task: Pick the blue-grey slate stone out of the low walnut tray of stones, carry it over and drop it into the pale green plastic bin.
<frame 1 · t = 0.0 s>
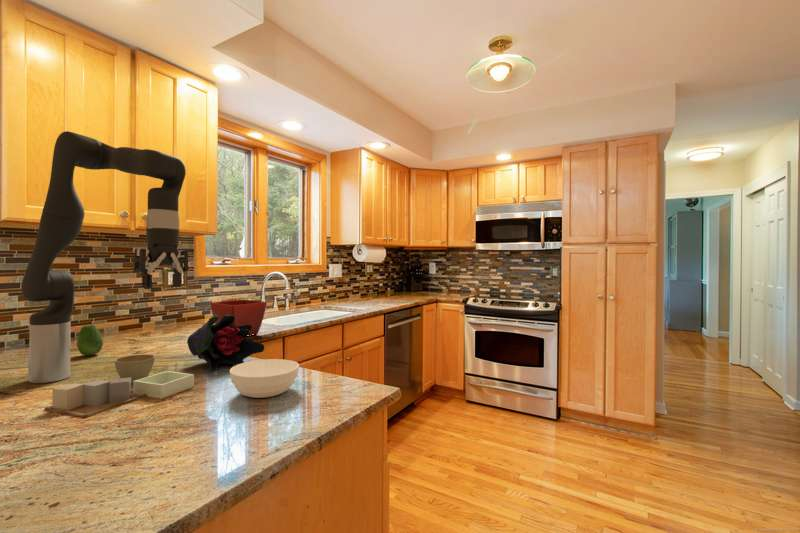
hand: (162, 288, 101), 29 cm above the countertop, fingers open, 8 cm apart
stone slate: (96, 402, 95), resting on walnut tray
stone sand: (68, 407, 92), resting on walnut tray
bowl: (265, 393, 105), on the countertop
decorative plant: (226, 366, 131), on the countertop
green bin: (164, 391, 105), on the countertop
stone basalt: (120, 399, 97), resting on walnut tray
plant pot: (238, 336, 186), on the countertop
avocado: (90, 356, 144), on the countertop
walnut tray: (100, 403, 95), on the countertop
flower pot: (134, 382, 114), on the countertop
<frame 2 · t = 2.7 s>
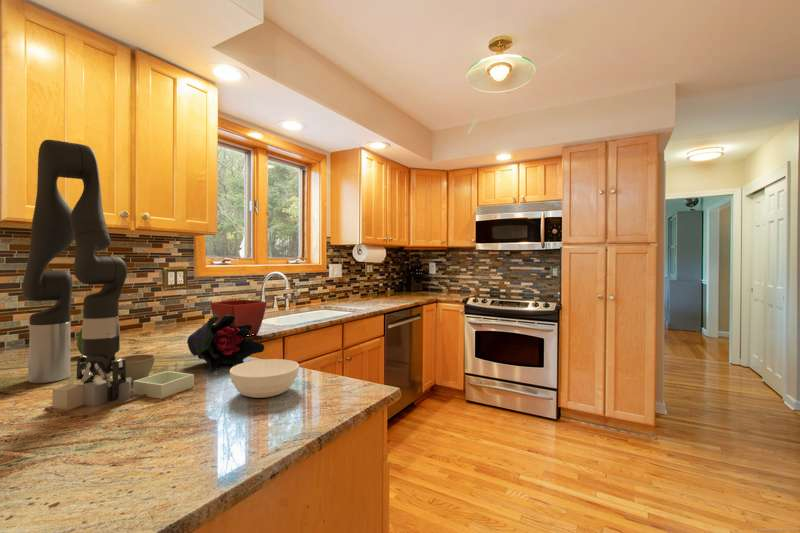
hand: (100, 398, 95), 1 cm above the countertop, fingers open, 8 cm apart
stone basalt: (120, 399, 97), resting on walnut tray, touching gripper
everything else where it was.
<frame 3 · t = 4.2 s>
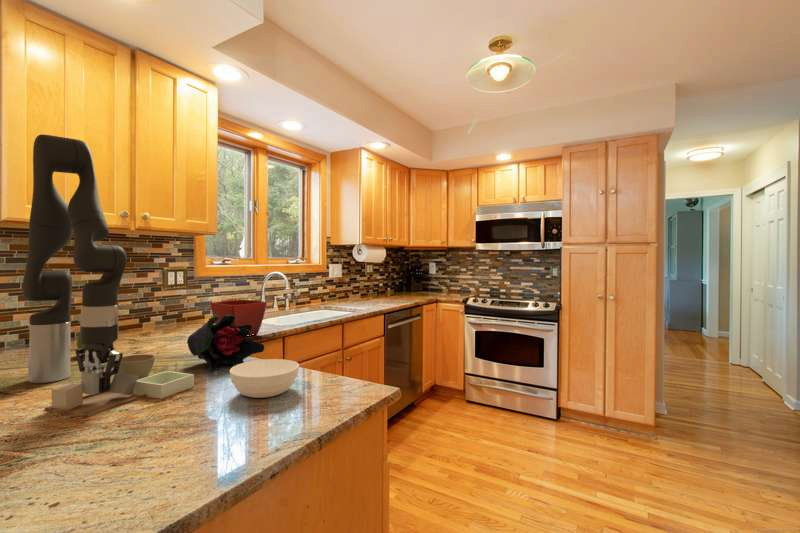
hand: (98, 390, 95), 4 cm above the countertop, fingers closed on stone slate, 4 cm apart
stone slate: (95, 391, 95), point 3 cm above the countertop, touching gripper
stone basalt: (119, 393, 98), point 2 cm above the countertop, tilted 25°, touching green bin, gripper
everything else where it was.
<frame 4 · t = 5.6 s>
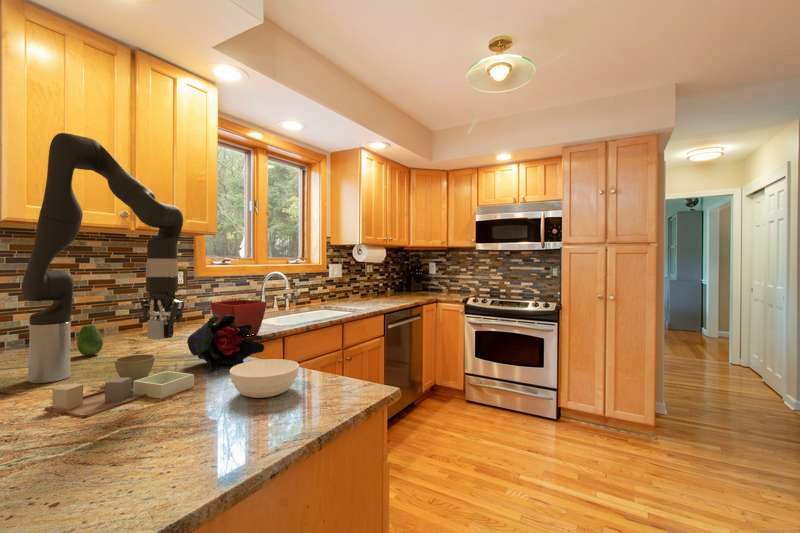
hand: (162, 336, 104), 16 cm above the countertop, fingers closed on stone slate, 4 cm apart
stone slate: (159, 337, 103), point 15 cm above the countertop, touching gripper
stone basalt: (118, 399, 97), resting on walnut tray
everything else where it was.
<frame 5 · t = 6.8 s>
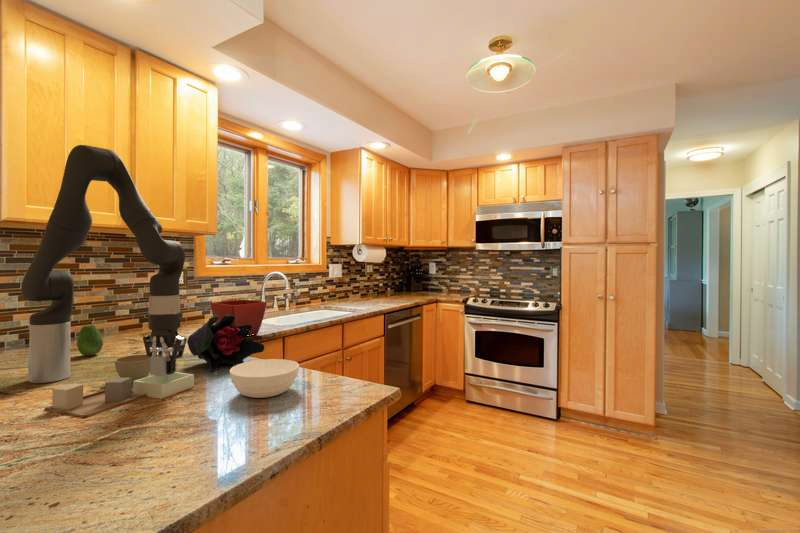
hand: (164, 372, 105), 5 cm above the countertop, fingers closed on stone slate, 4 cm apart
stone slate: (162, 373, 104), point 5 cm above the countertop, touching gripper
everything else where it was.
when the fingers open (5 cm above the countertop, at t = 7.6 s): stone slate drops 4 cm, resting on green bin.
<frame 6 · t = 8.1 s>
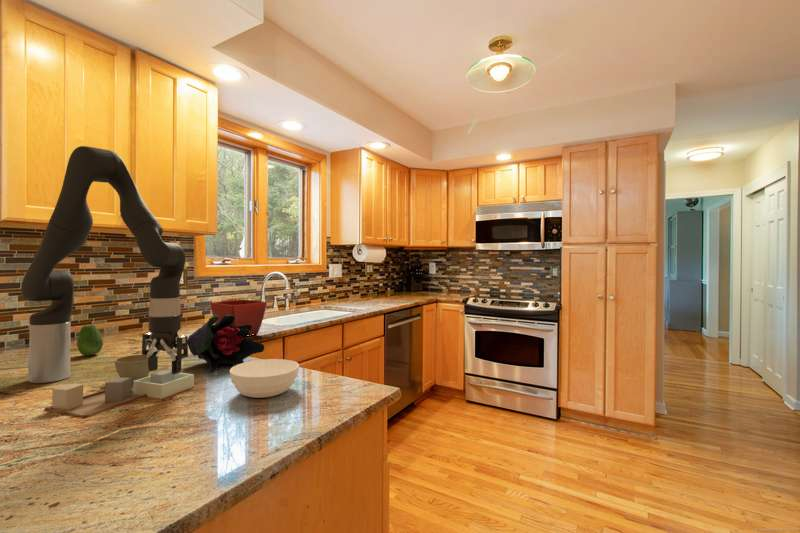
hand: (164, 371, 105), 6 cm above the countertop, fingers open, 8 cm apart
stone slate: (162, 390, 104), resting on green bin
everything else where it was.
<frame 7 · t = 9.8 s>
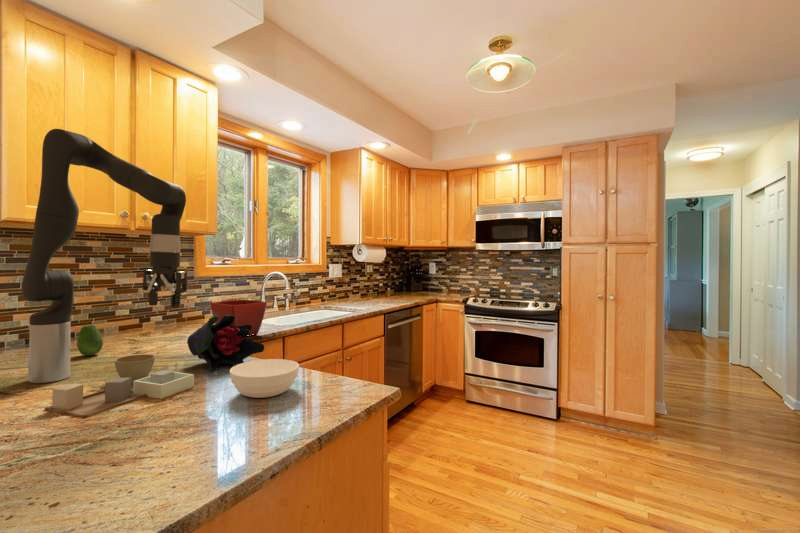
hand: (164, 306, 109), 23 cm above the countertop, fingers open, 8 cm apart
nothing on the countertop moved.
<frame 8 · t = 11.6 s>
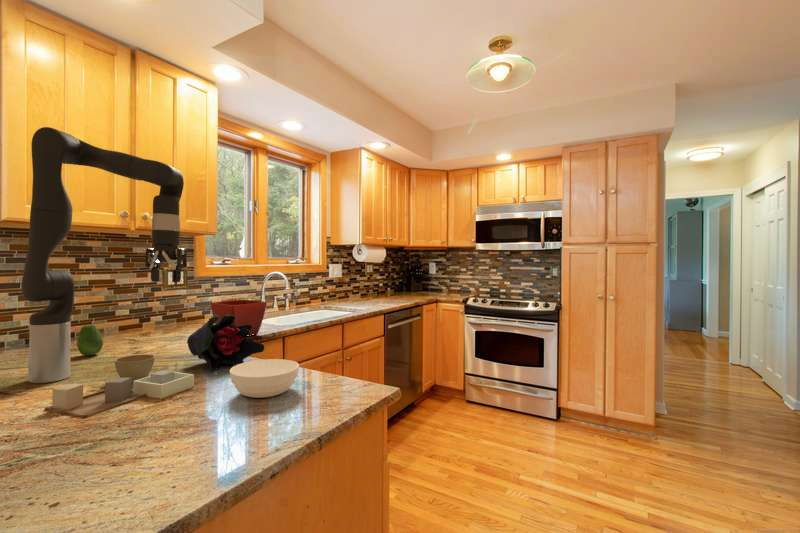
hand: (165, 281, 116), 30 cm above the countertop, fingers open, 8 cm apart
nothing on the countertop moved.
at the end: stone slate inside the target area on the green bin (0.4 cm from its centre), point 0.5 cm above the green bin's base; the gripper is holding nothing; stone basalt moved 0.8 cm from its start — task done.
